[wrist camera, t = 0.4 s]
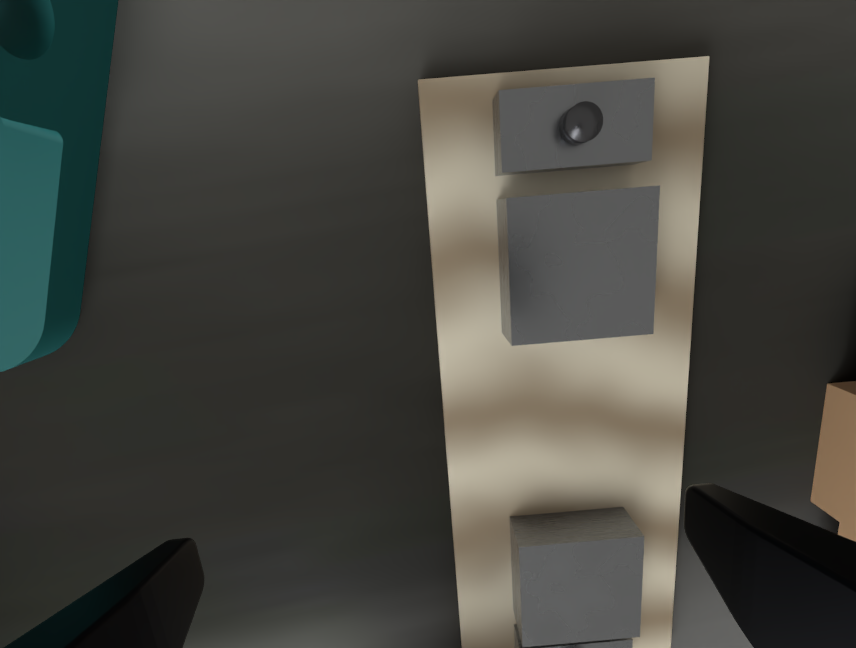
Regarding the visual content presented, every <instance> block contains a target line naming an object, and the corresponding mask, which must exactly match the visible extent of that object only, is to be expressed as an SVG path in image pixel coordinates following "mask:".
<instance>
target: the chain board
mask: <svg viewBox="0 0 856 648" xmlns="http://www.w3.org/2000/svg"><path fill="white" fill-rule="evenodd" d="M708 71H709V56H703V57H691V58H678V59H666V60H654V61H641V62H629V63H617V64H604V65H592V66H579V67H567V68H555V69H542V70H530V71H518V72H505V73H493V74H480V75H468V76H456V77H443V78H431V79H419V80H418V94H419V107H420V120H421V132H422V145H423V158H424V171H425V184H426V197H427V209H428V222H429V235H430V248H431V261H432V274H433V286H434V299H435V312H436V325H437V338H438V351H439V363H440V376H441V389H442V402H443V415H444V428H445V441H446V453H447V466H448V479H449V492H450V505H451V518H452V530H453V543H454V556H455V569H456V582H457V595H458V607H459V620H460V633H461V646H462V648H515V640H514V624H517V623H516V619H515V615H514V611H513V592H512V568H511V544H510V519H509V517H510V516H521V515H533V514H544V513H556V512H568V511H579V510H591V509H602V508H614V507H624V508H625V510H626V511H627V513H628V514H629V515H630V517H631V518H632V520H633V521H634V522H635V524H636V525H637V527H638V528H639V529H640V531H641V532H642V534H643V535H644V558H643V581H642V603H641V626H640V637H634V638H632V639H633V647H632V648H671V633H672V618H673V603H674V588H675V572H676V557H677V542H678V527H679V512H680V496H681V481H682V466H683V451H684V436H685V420H686V405H687V390H688V375H689V360H690V344H691V329H692V314H693V299H694V284H695V268H696V253H697V238H698V223H699V207H700V192H701V177H702V162H703V147H704V131H705V116H706V101H707V86H708ZM642 78H655V92H654V117H653V142H652V160H651V161H647V162H643V163H639V164H635V165H624V166H612V167H600V168H588V169H576V170H564V171H551V172H539V173H527V174H515V175H503V176H495V156H494V132H493V108H492V100H493V98H494V97H495V95H496V94H497V92H498V91H499V90H507V89H519V88H531V87H544V86H556V85H568V84H581V83H593V82H605V81H618V80H630V79H642ZM659 185H660V198H659V221H658V243H657V266H656V288H655V311H654V333H653V334H648V335H636V336H624V337H612V338H600V339H588V340H577V341H565V342H553V343H541V344H529V345H517V346H511V344H510V343H509V342H508V340H507V339H506V338H505V336H504V335H503V334H502V326H501V302H500V277H499V253H498V229H497V205H496V200H499V199H504V198H513V197H525V196H537V195H550V194H562V193H574V192H586V191H598V190H610V189H622V188H634V187H647V186H659Z"/></svg>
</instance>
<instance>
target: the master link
mask: <svg viewBox="0 0 856 648" xmlns="http://www.w3.org/2000/svg"><path fill="white" fill-rule="evenodd" d="M811 502H812V503H814V504H815V505H817V506H818V507H819V508H821V509H822V510H824V511H825V512H826V513H828V514H829V515H830V516H832V517H833V518H835V519H836V520H837V521H839V522H840V523H839V529H838V535H840V536H843V537H845V538H848V539H850V540H853V541H855V542H856V381H851V382H839V383H828V384H827V389H826V396H825V403H824V410H823V417H822V424H821V431H820V438H819V445H818V452H817V459H816V466H815V473H814V480H813V487H812V494H811Z"/></svg>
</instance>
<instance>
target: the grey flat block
mask: <svg viewBox="0 0 856 648" xmlns="http://www.w3.org/2000/svg"><path fill="white" fill-rule="evenodd" d="M654 92H655V78H642V79H630V80H618V81H605V82H593V83H581V84H568V85H556V86H544V87H531V88H519V89H507V90H499V91H498V92H497V94H496V95H495V97H494V98H493V100H492V108H493V132H494V156H495V176H503V175H515V174H527V173H539V172H551V171H564V170H576V169H588V168H600V167H612V166H624V165H635V164H639V163H643V162H647V161H651V160H652V142H653V117H654ZM659 198H660V185H659V186H647V187H634V188H622V189H610V190H598V191H586V192H574V193H562V194H550V195H537V196H525V197H513V198H504V199H499V200H496V205H497V229H498V253H499V277H500V302H501V326H502V334H503V335H504V336H505V338H506V339H507V340H508V342H509V343H510V344H511V346H517V345H529V344H541V343H553V342H565V341H577V340H588V339H600V338H612V337H624V336H636V335H648V334H653V333H654V311H655V288H656V266H657V243H658V221H659Z"/></svg>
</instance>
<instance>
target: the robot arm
mask: <svg viewBox="0 0 856 648" xmlns="http://www.w3.org/2000/svg"><path fill="white" fill-rule="evenodd" d="M684 529H685V533H686V535H687V538H688V540H689V542H690V543H691V545H692V547H693V548H694V550H695V552H696V554H697V555H698V557H699V559H700V561H701V562H702V564H703V566H704V567H705V569H706V571H707V573H708V574H709V576H710V578H711V580H712V581H713V583H714V585H715V586H716V588H717V590H718V592H719V593H720V595H721V597H722V599H723V600H724V602H725V604H726V605H727V607H728V609H729V611H730V612H731V614H732V616H733V617H734V619H735V620H736V622H737V624H738V625H739V627H740V628H741V630H742V631H743V633H744V634H745V636H746V637H747V639H748V640H749V641H750V643H751V644H752V646H753V647H754V648H856V542H855V541H853V540H850V539H848V538H845V537H843V536H840V535H838V534H835V533H833V532H830V531H828V530H826V529H823V528H821V527H818V526H816V525H813V524H811V523H808V522H806V521H803V520H801V519H798V518H796V517H793V516H791V515H789V514H786V513H784V512H781V511H779V510H776V509H774V508H771V507H769V506H766V505H764V504H761V503H759V502H757V501H754V500H752V499H749V498H747V497H744V496H742V495H739V494H737V493H734V492H732V491H729V490H727V489H725V488H722V487H720V486H717V485H715V484H711V483H706V484H697V485H690V486H689V487H687V489H686V492H685V508H684ZM203 586H204V573H203V569H202V565H201V561H200V558H199V554H198V550H197V546H196V543H195V541H194V540H193V539H191V538H182V539H172V540H168V541H166V542H164V543H163V544H161V545H160V546H158V547H157V548H155V549H154V550H152V551H151V552H149V553H147V554H146V555H144V556H143V557H141V558H140V559H138V560H137V561H135V562H134V563H132V564H131V565H129V566H128V567H126V568H125V569H123V570H122V571H120V572H118V573H117V574H115V575H114V576H112V577H111V578H109V579H108V580H106V581H105V582H103V583H102V584H100V585H99V586H97V587H96V588H94V589H93V590H91V591H89V592H88V593H86V594H85V595H83V596H82V597H80V598H79V599H77V600H76V601H74V602H73V603H71V604H70V605H68V606H67V607H65V608H64V609H62V610H60V611H59V612H57V613H56V614H54V615H53V616H51V617H50V618H48V619H47V620H45V621H44V622H42V623H41V624H39V625H38V626H36V627H35V628H33V629H31V630H30V631H28V632H27V633H25V634H24V635H22V636H21V637H19V638H18V639H16V640H15V641H13V642H12V643H10V644H9V645H7V646H6V647H4V648H183V645H184V642H185V639H186V636H187V634H188V631H189V628H190V625H191V622H192V619H193V617H194V614H195V611H196V608H197V605H198V602H199V599H200V597H201V594H202V591H203Z"/></svg>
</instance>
